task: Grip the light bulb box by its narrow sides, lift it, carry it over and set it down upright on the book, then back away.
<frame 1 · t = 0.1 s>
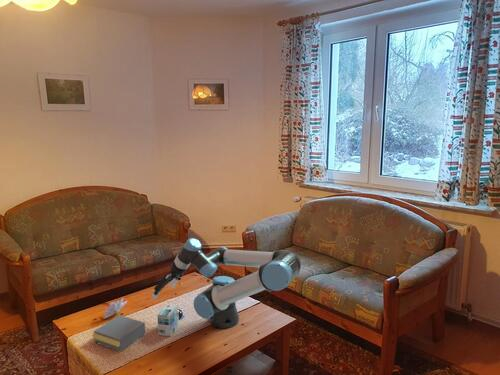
hand: (162, 292, 194), 15 cm above the table, tool tilted 35°, fingers open, 13 cm apart
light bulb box: (168, 330, 187), on the table
book: (120, 338, 180), on the table
water lily: (115, 316, 200), on the table
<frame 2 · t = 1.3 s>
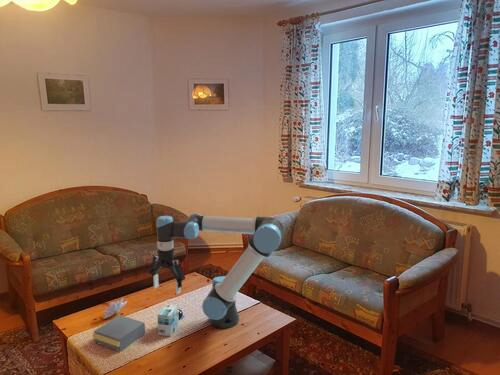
hand: (167, 290, 183), 21 cm above the table, tool pointing down, fingers open, 13 cm apart
nothing on the table moved.
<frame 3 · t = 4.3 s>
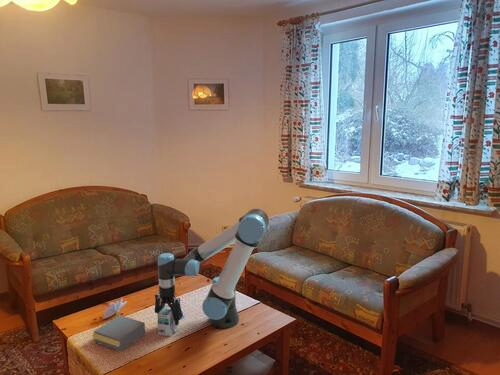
hand: (168, 328, 187), 1 cm above the table, tool pointing down, fingers closed on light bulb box, 8 cm apart
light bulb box: (168, 330, 187), on the table, touching gripper
everything else where it was.
when the fingers open (8 cm above the table, at t = 10.5 s): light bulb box drops 1 cm, resting on book.
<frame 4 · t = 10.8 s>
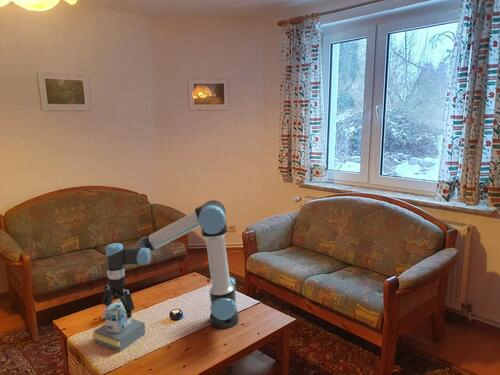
hand: (119, 321, 178), 9 cm above the table, tool pointing down, fingers open, 10 cm apart
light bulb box: (119, 326, 179), point 6 cm above the table, touching book
everything else where it was.
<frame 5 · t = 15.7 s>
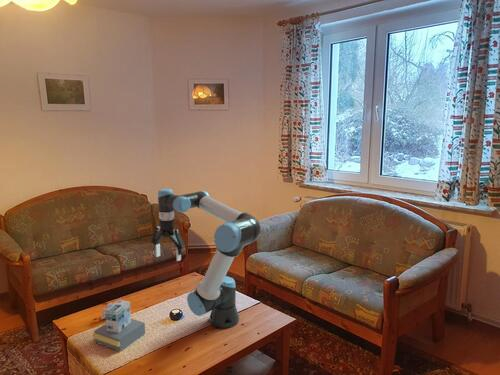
hand: (168, 258, 198), 31 cm above the table, tool pointing down, fingers open, 13 cm apart
at the end: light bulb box inside the target area on the book (0.3 cm from its centre), point 5.8 cm above the book's base; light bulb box tilted 0°; the gripper is holding nothing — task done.
